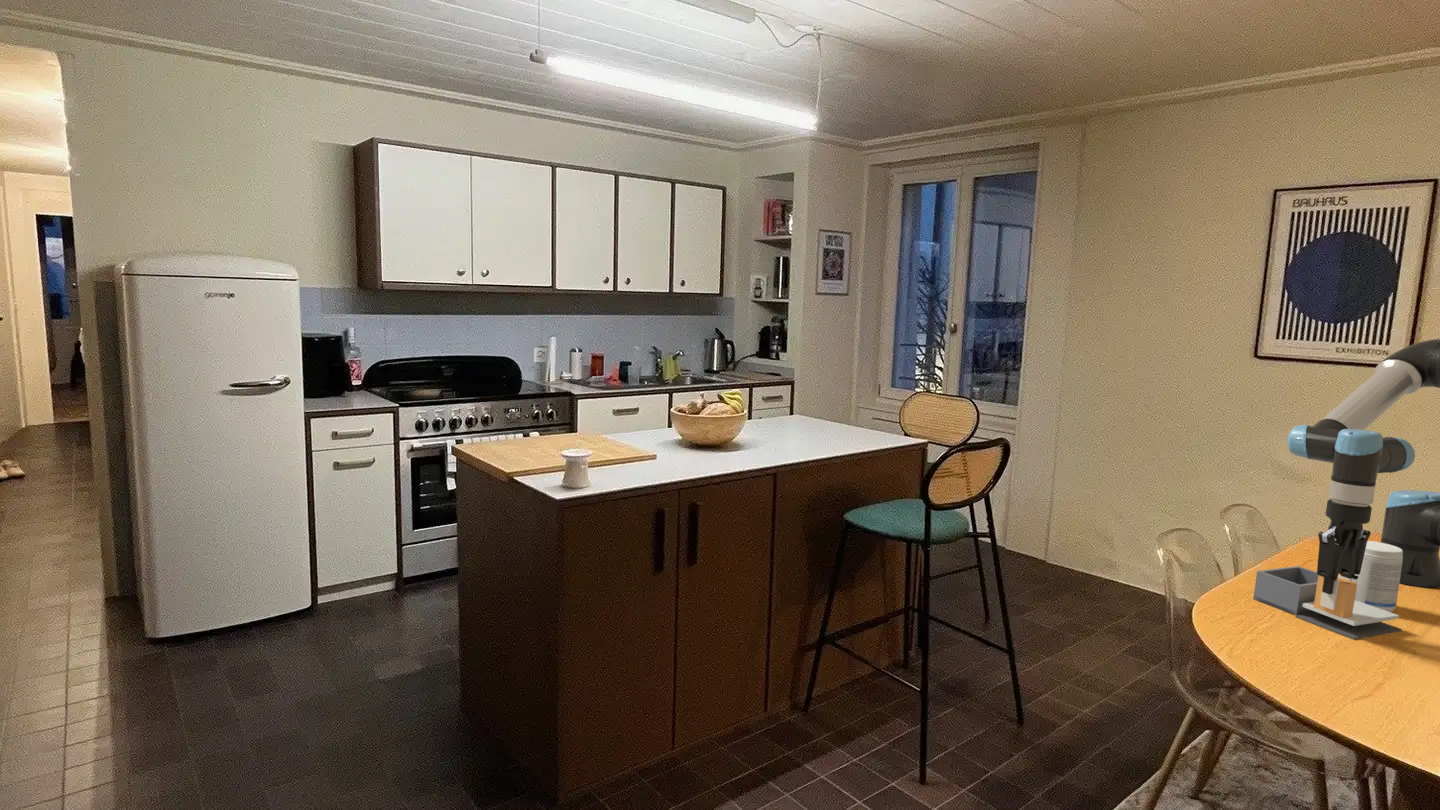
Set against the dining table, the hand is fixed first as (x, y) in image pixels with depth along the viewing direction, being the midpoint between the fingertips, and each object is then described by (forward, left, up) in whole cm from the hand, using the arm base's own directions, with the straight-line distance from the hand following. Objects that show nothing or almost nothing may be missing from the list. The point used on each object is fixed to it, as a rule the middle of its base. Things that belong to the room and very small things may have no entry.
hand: (1333, 606), depth 172 cm
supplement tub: (-23, -6, -5) cm, 24 cm away
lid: (-6, 0, -2) cm, 6 cm away
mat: (-6, 0, -5) cm, 7 cm away
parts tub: (-6, -12, -5) cm, 14 cm away
